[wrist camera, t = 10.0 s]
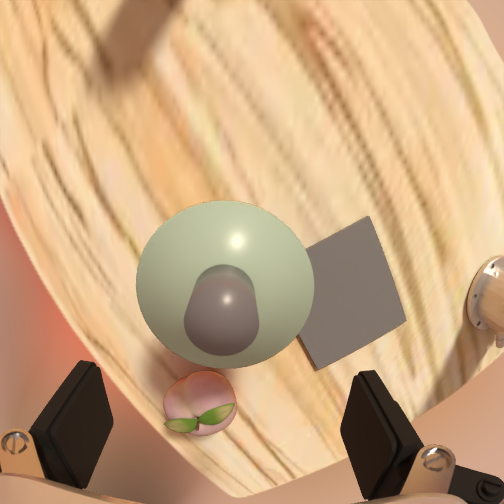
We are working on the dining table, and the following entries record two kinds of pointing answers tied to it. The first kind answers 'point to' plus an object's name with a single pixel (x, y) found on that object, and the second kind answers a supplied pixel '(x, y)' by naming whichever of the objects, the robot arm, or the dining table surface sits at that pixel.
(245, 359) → the lid
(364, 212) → the dining table surface
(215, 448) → the dining table surface
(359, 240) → the mat
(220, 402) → the decorative fruit
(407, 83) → the dining table surface
